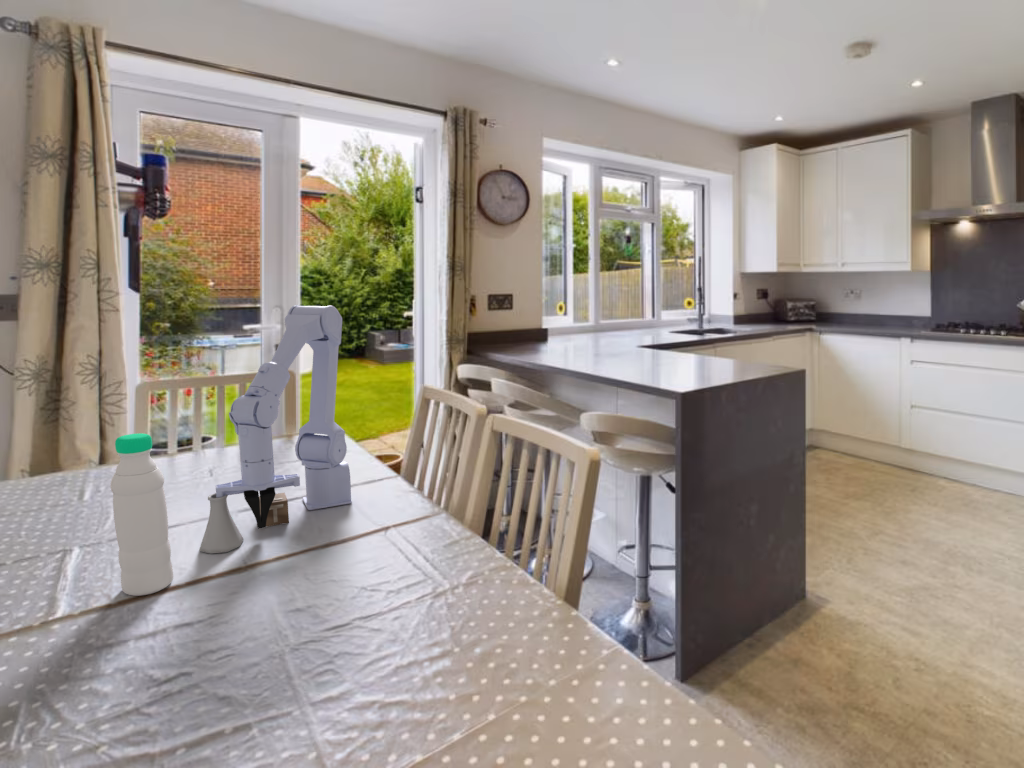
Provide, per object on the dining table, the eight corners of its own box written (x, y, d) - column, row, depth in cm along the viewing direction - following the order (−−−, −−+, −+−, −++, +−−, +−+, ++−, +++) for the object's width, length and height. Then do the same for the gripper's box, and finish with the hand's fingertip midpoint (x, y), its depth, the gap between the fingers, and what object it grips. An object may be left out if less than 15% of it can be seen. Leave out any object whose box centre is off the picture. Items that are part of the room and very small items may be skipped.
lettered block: (285, 514, 122) (284, 491, 121) (289, 523, 117) (287, 499, 117) (260, 519, 120) (258, 495, 119) (262, 528, 115) (261, 503, 114)
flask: (229, 555, 103) (225, 503, 101) (191, 554, 103) (186, 501, 102) (250, 538, 110) (247, 489, 108) (214, 537, 111) (210, 487, 109)
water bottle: (161, 571, 97) (147, 428, 93) (182, 583, 93) (168, 434, 89) (114, 588, 91) (97, 437, 87) (134, 602, 87) (117, 444, 83)
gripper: (214, 469, 101) (220, 542, 103) (300, 458, 108) (304, 526, 110) (213, 459, 107) (218, 527, 109) (295, 449, 114) (298, 514, 116)
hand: (261, 526), depth 110 cm, fingers closed
